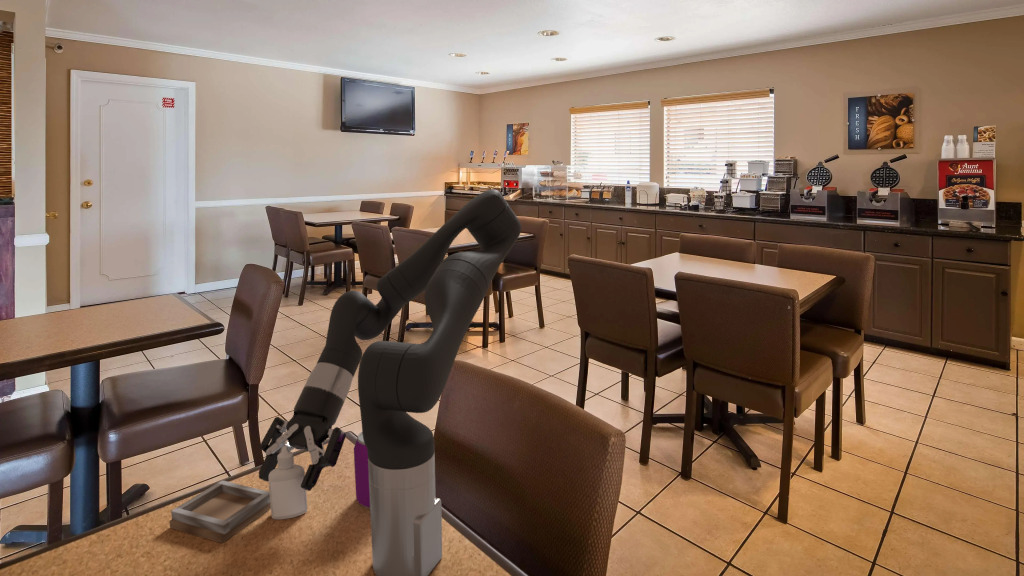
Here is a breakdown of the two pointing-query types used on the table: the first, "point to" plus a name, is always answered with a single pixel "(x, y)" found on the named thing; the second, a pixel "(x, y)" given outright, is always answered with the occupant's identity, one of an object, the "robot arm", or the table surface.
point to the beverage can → (361, 472)
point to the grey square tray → (220, 511)
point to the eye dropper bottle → (287, 488)
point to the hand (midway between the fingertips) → (283, 484)
